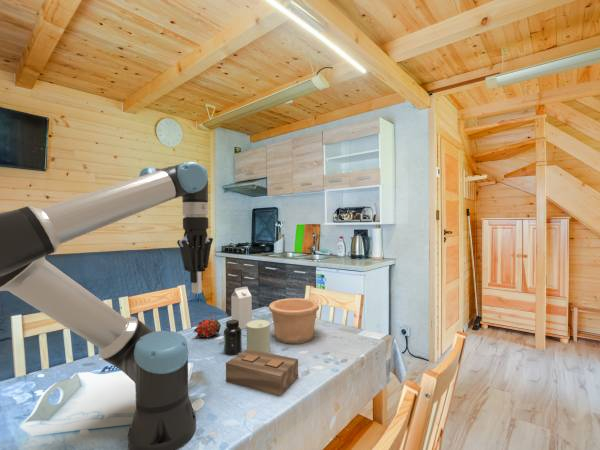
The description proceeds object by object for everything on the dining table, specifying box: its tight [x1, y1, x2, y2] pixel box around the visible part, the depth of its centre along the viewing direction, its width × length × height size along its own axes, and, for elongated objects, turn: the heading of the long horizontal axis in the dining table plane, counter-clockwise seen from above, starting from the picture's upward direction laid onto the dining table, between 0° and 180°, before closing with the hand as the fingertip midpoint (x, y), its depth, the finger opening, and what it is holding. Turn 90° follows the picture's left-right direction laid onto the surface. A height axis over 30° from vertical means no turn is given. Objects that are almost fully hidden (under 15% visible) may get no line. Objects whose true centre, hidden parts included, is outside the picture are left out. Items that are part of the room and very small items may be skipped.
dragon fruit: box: [193, 317, 222, 339], centre depth 138 cm, size 8×8×12 cm
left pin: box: [242, 354, 259, 363], centre depth 103 cm, size 4×4×6 cm
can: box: [246, 319, 271, 353], centre depth 121 cm, size 9×9×12 cm
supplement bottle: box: [223, 319, 243, 356], centre depth 122 cm, size 7×7×12 cm
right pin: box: [266, 359, 283, 368], centre depth 99 cm, size 4×4×6 cm
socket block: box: [225, 348, 299, 397], centre depth 101 cm, size 12×20×6 cm, turn 64°
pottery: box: [268, 297, 320, 345], centre depth 137 cm, size 22×22×14 cm
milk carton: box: [230, 286, 253, 330], centre depth 151 cm, size 7×7×19 cm
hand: (196, 292), depth 97 cm, fingers closed
